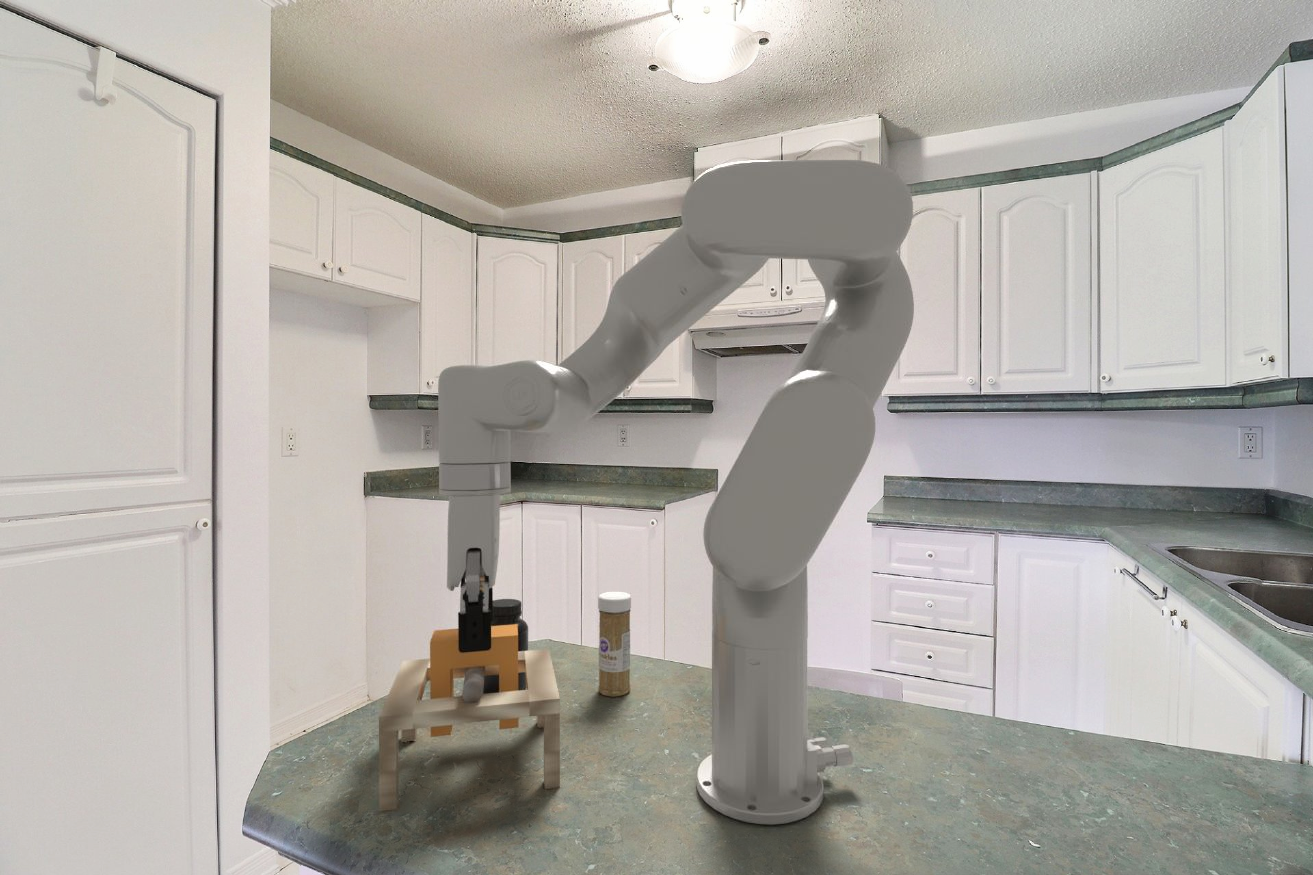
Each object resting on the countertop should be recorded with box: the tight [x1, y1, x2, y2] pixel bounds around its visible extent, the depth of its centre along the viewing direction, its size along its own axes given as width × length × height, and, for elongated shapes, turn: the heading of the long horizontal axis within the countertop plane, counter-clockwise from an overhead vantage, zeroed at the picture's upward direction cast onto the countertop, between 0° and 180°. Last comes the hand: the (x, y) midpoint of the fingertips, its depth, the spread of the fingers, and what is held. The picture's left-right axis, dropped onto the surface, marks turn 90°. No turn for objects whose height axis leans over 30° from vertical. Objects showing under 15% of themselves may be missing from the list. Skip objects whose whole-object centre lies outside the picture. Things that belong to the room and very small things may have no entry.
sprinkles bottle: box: [597, 591, 632, 698], centre depth 87 cm, size 5×5×14 cm
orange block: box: [429, 624, 520, 738], centre depth 69 cm, size 9×4×10 cm, turn 103°
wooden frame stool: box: [378, 648, 561, 812], centre depth 69 cm, size 17×15×11 cm
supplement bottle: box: [483, 598, 529, 694], centre depth 88 cm, size 7×7×12 cm
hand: (477, 635), depth 68 cm, fingers open, 9 cm apart
